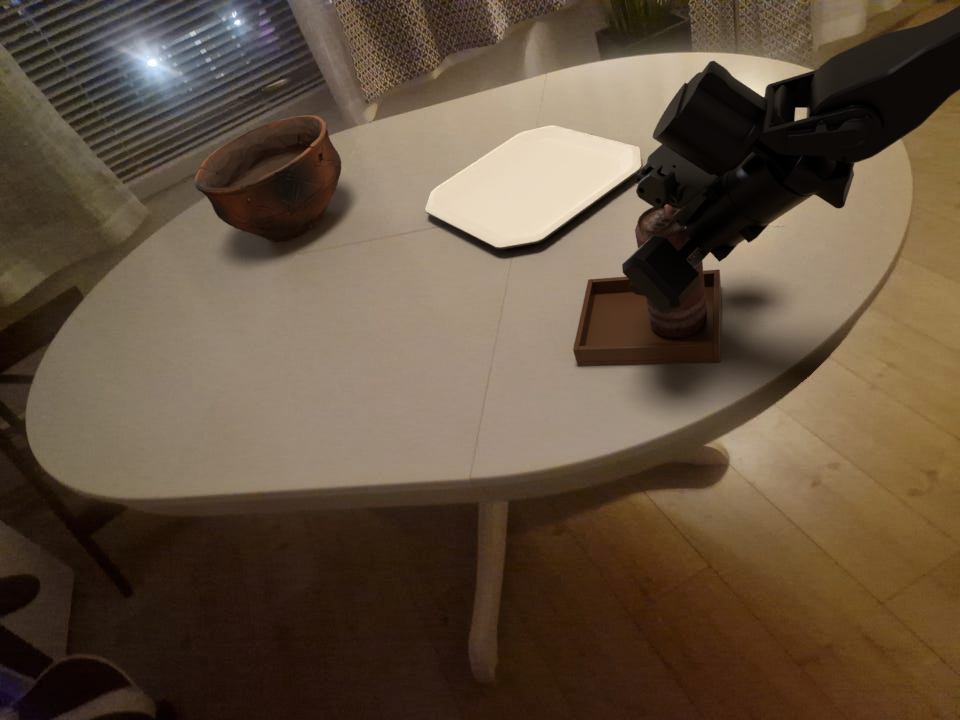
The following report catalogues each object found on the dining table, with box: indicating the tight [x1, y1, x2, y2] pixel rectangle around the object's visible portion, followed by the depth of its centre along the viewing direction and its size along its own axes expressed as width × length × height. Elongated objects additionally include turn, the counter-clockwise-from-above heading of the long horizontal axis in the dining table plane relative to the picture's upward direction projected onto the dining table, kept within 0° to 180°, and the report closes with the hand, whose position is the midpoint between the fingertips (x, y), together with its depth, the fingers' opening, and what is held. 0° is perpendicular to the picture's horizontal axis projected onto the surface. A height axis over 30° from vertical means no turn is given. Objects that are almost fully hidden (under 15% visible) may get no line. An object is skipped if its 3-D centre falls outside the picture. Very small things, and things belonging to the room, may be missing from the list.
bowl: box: [194, 114, 342, 243], centre depth 116 cm, size 25×25×15 cm
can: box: [634, 204, 707, 339], centre depth 68 cm, size 6×6×14 cm
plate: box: [424, 124, 643, 250], centre depth 103 cm, size 29×29×2 cm
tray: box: [572, 269, 722, 367], centre depth 74 cm, size 15×12×3 cm
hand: (658, 264), depth 69 cm, fingers open, 9 cm apart
